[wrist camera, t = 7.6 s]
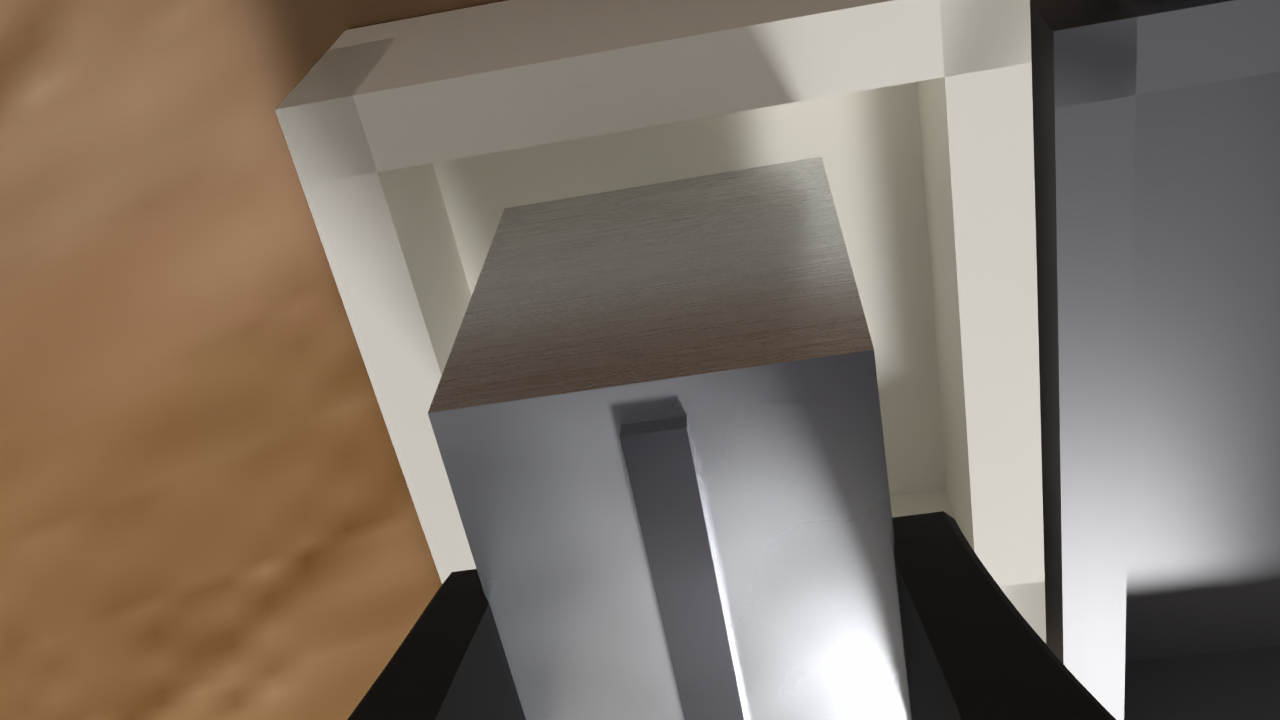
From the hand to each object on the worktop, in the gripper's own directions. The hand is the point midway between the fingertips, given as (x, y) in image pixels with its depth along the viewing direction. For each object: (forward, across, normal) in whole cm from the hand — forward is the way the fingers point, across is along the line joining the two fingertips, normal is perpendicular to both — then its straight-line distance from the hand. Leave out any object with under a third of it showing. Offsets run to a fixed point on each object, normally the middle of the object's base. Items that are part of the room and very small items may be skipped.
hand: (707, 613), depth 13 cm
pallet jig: (+8, 0, +6) cm, 10 cm away
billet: (+4, 0, 0) cm, 4 cm away
